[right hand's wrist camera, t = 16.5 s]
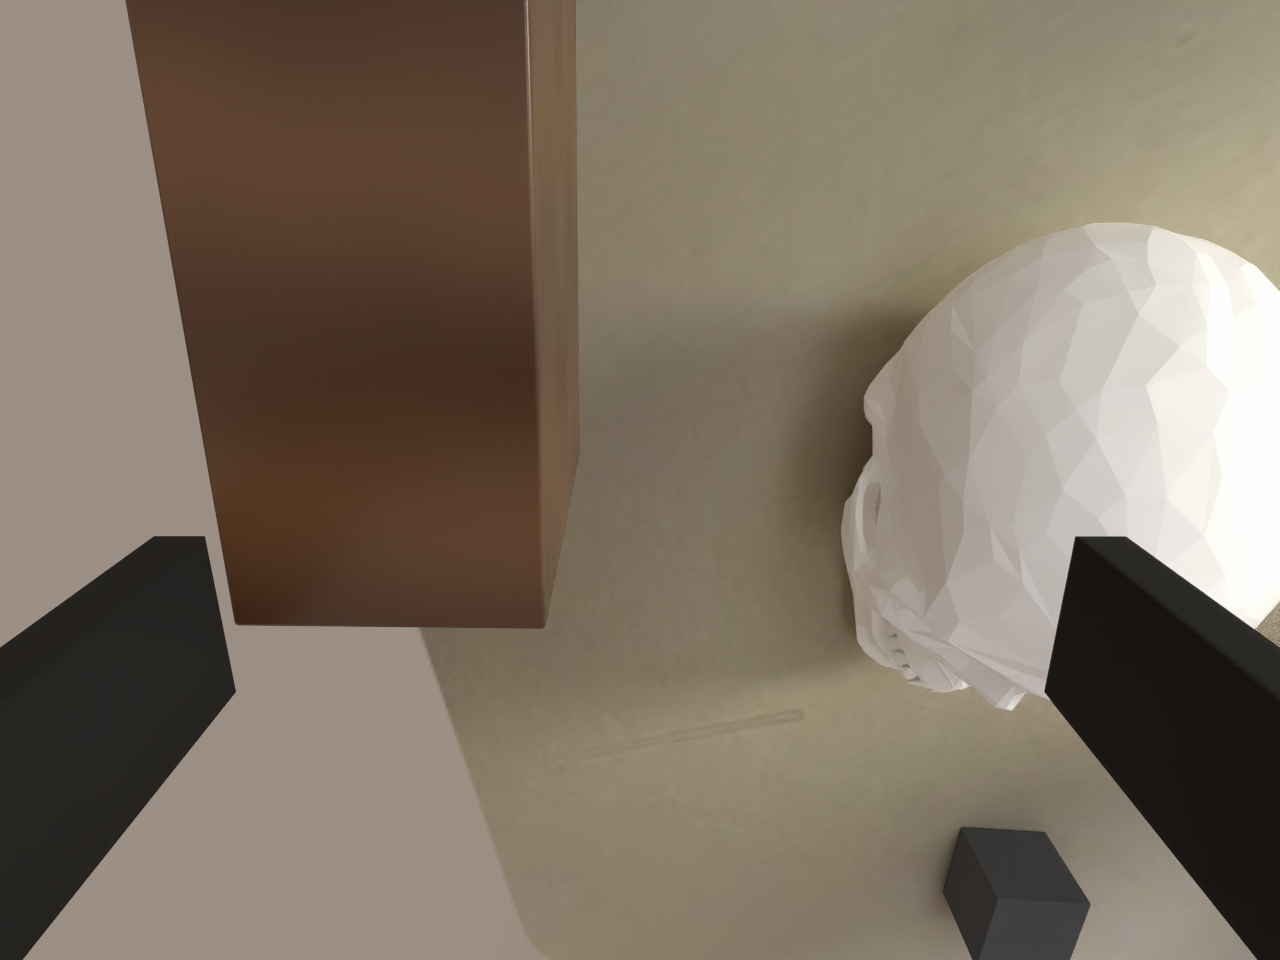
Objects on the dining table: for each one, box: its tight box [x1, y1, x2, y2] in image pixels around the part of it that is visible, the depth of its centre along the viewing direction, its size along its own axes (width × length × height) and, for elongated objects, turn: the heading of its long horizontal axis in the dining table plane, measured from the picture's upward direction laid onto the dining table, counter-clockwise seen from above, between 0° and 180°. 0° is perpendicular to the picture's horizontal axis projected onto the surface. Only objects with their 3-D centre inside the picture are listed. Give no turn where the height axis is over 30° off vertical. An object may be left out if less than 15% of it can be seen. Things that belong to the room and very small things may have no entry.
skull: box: [841, 223, 1280, 711], centre depth 31 cm, size 13×22×16 cm, turn 170°
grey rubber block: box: [943, 828, 1090, 960], centre depth 46 cm, size 5×5×5 cm
